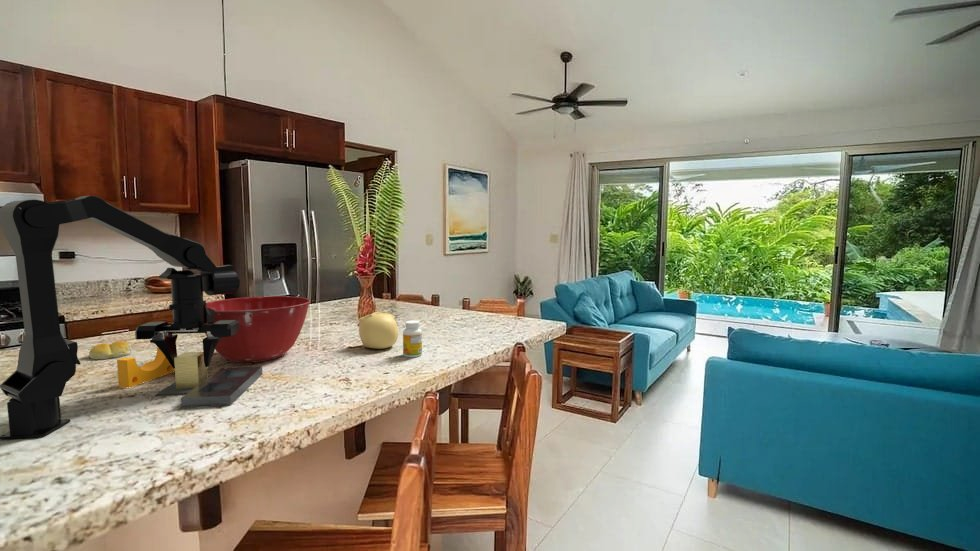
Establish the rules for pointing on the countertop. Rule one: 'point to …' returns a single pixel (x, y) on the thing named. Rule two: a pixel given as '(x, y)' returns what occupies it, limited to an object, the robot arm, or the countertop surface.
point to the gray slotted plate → (222, 387)
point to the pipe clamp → (142, 370)
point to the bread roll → (110, 350)
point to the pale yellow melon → (378, 330)
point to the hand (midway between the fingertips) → (191, 367)
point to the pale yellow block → (190, 370)
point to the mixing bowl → (260, 326)
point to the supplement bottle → (412, 339)
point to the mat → (173, 390)
